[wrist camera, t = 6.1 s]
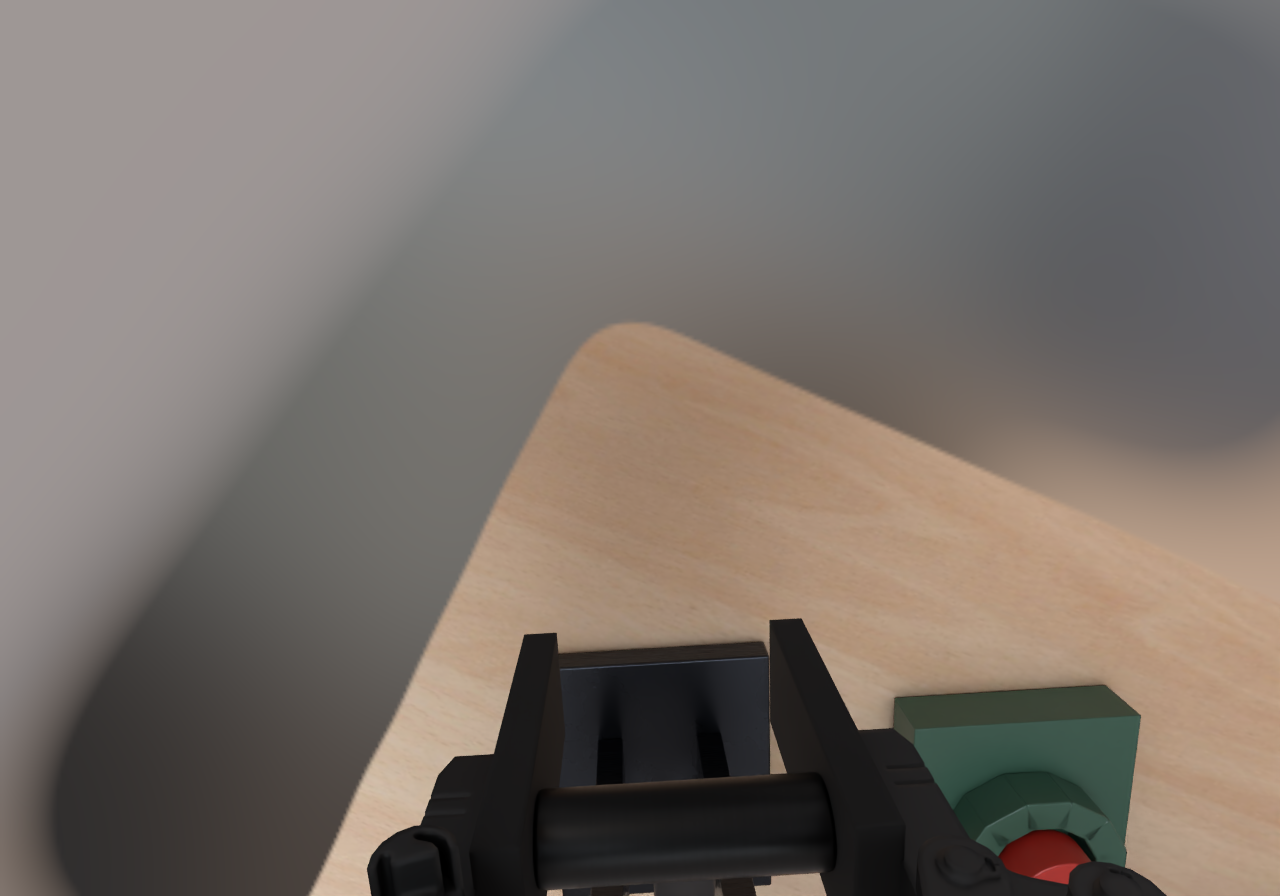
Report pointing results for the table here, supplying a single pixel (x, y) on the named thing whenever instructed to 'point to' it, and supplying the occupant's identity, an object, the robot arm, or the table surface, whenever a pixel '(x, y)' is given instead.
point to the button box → (1031, 762)
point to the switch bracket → (666, 724)
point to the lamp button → (1044, 855)
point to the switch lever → (683, 832)
